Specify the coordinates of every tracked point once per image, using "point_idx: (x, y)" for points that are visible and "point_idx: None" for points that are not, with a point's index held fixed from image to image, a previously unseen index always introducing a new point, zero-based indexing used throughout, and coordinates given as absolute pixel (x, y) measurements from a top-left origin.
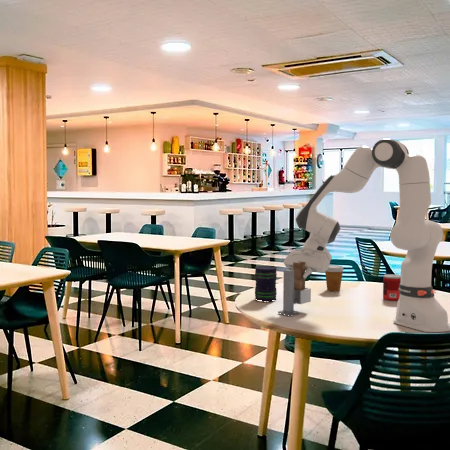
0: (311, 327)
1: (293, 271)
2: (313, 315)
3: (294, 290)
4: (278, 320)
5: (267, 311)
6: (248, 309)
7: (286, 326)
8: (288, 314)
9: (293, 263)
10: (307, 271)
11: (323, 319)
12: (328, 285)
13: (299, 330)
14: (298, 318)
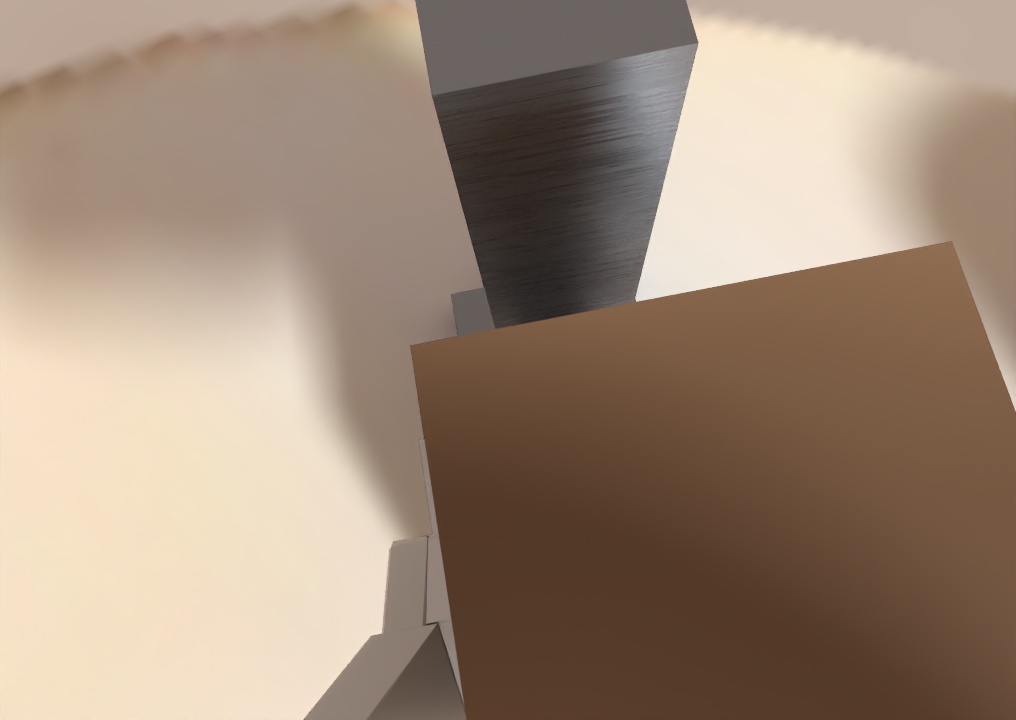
0: (33, 215)
1: (433, 91)
2: (327, 578)
3: None
4: (414, 121)
5: (793, 251)
6: (990, 132)
7: (214, 58)
8: (470, 293)
9: (888, 279)
10: (321, 707)
11: (130, 539)
12: None
13: (52, 71)
14: (343, 335)
